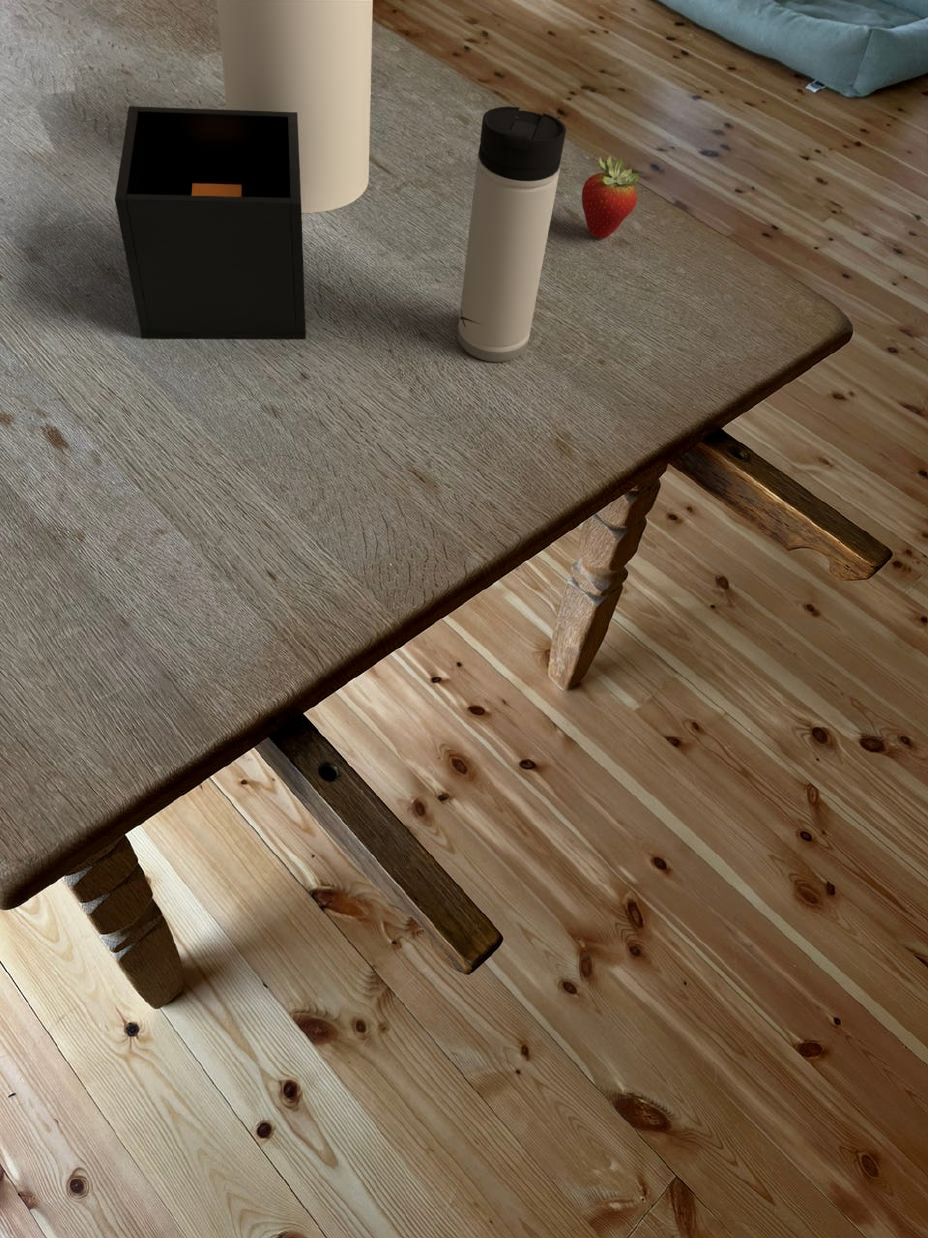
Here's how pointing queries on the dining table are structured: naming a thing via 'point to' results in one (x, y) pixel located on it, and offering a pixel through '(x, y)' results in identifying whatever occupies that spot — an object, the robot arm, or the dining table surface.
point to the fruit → (608, 198)
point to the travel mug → (508, 230)
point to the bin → (213, 223)
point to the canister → (307, 84)
